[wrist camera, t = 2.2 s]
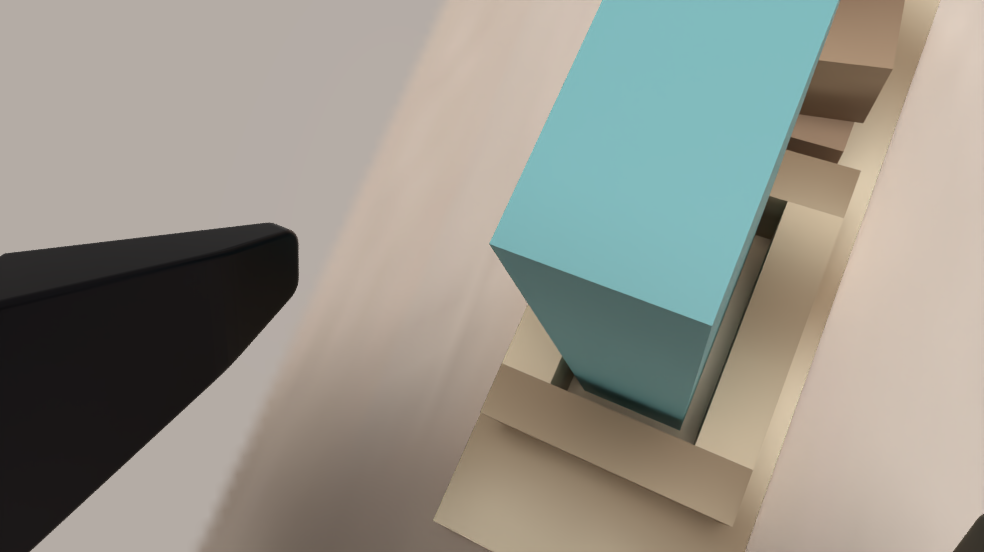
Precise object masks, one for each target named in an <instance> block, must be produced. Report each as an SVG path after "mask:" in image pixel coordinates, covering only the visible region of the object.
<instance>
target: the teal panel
mask: <svg viewBox="0 0 984 552" xmlns="http://www.w3.org/2000/svg"><path fill="white" fill-rule="evenodd" d="M839 3H840V0H602V2H601V5H600V7H599V9H598V11H597V13H596V15H595V17H594V20H593V22H592V24H591V26H590V28H589V30H588V33H587V35H586V37H585V39H584V41H583V43H582V45H581V48H580V50H579V52H578V54H577V56H576V58H575V61H574V63H573V65H572V67H571V69H570V71H569V73H568V76H567V78H566V80H565V82H564V84H563V86H562V89H561V91H560V93H559V95H558V97H557V99H556V101H555V104H554V106H553V108H552V110H551V112H550V114H549V117H548V119H547V121H546V123H545V125H544V127H543V129H542V132H541V134H540V136H539V138H538V140H537V142H536V145H535V147H534V149H533V151H532V153H531V155H530V157H529V160H528V162H527V164H526V166H525V168H524V170H523V173H522V175H521V177H520V179H519V181H518V183H517V185H516V188H515V190H514V192H513V194H512V196H511V198H510V201H509V203H508V205H507V207H506V209H505V211H504V213H503V216H502V218H501V220H500V222H499V224H498V226H497V229H496V231H495V233H494V235H493V237H492V239H491V241H490V246H491V247H492V249H493V250H494V252H495V253H496V255H497V256H498V258H499V260H500V261H501V263H502V264H503V266H504V267H505V269H506V270H507V272H508V273H509V275H510V277H511V278H512V280H513V281H514V283H515V284H516V286H517V287H518V289H519V290H520V292H521V293H522V295H523V297H524V298H525V300H526V301H527V303H528V304H529V306H530V307H531V309H532V310H533V312H534V314H535V315H536V317H537V318H538V320H539V321H540V323H541V324H542V326H543V327H544V329H545V330H546V332H547V334H548V335H549V337H550V338H551V340H552V341H553V343H554V344H555V346H556V347H557V349H558V351H559V352H560V354H561V355H562V357H563V358H564V360H565V361H566V363H567V364H568V366H569V367H570V369H571V371H572V372H573V374H574V375H575V377H576V378H577V380H578V381H579V383H580V384H581V386H582V387H583V389H584V391H587V392H589V393H592V394H594V395H596V396H599V397H601V398H603V399H606V400H608V401H611V402H613V403H615V404H618V405H620V406H622V407H625V408H627V409H630V410H632V411H634V412H637V413H639V414H641V415H644V416H646V417H649V418H651V419H653V420H656V421H658V422H660V423H663V424H665V425H668V426H670V427H672V428H675V429H677V430H679V431H680V429H681V426H682V424H683V421H684V419H685V416H686V413H687V411H688V408H689V406H690V403H691V401H692V398H693V395H694V393H695V390H696V388H697V385H698V382H699V380H700V377H701V375H702V372H703V369H704V367H705V364H706V362H707V359H708V356H709V354H710V351H711V349H712V346H713V343H714V341H715V338H716V336H717V333H718V331H719V328H720V325H721V323H722V320H723V318H724V315H725V312H726V310H727V307H728V305H729V302H730V299H731V297H732V294H733V292H734V289H735V286H736V284H737V281H738V279H739V276H740V273H741V271H742V268H743V266H744V263H745V260H746V258H747V255H748V253H749V250H750V247H751V245H752V242H753V239H754V236H755V234H756V231H757V228H758V225H759V223H760V220H761V217H762V214H763V212H764V209H765V206H766V203H767V201H768V198H769V195H770V192H771V190H772V187H773V184H774V181H775V179H776V176H777V173H778V170H779V168H780V165H781V162H782V159H783V157H784V154H785V151H786V148H787V146H788V143H789V140H790V137H791V135H792V132H793V129H794V126H795V124H796V121H797V118H798V115H799V113H800V110H801V107H802V104H803V102H804V99H805V96H806V93H807V91H808V88H809V85H810V82H811V80H812V77H813V74H814V71H815V69H816V66H817V63H818V60H819V58H820V55H821V52H822V49H823V47H824V44H825V41H826V38H827V36H828V33H829V30H830V27H831V25H832V22H833V19H834V16H835V14H836V11H837V8H838V5H839Z"/></svg>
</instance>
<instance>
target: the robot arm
mask: <svg viewBox="0 0 984 552" xmlns="http://www.w3.org/2000/svg"><path fill="white" fill-rule="evenodd" d="M298 263H299V258H298V238H297V236H296V234H295V233H294V232H293V231H292V230H289V229H287V228H284V227H282V226H279V225H277V224H274V223H260V224H252V225H243V226H236V227H227V228H218V229H209V230H201V231H192V232H184V233H175V234H167V235H159V236H150V237H142V238H133V239H125V240H117V241H107V242H99V243H91V244H82V245H73V246H65V247H57V248H48V249H39V250H31V251H22V252H14V253H5V254H3V255H2V256H0V552H30V551H31V550H32V549H33V548H34V547H35V546H36V545H38V544H39V543H40V542H41V541H42V540H43V539H44V538H45V537H46V536H47V535H48V534H49V533H51V532H52V530H54V529H55V528H56V527H57V526H58V525H59V524H60V523H61V522H62V521H64V520H65V519H66V518H67V517H68V516H69V515H70V514H71V513H72V512H73V511H74V510H75V509H77V508H78V507H79V506H80V505H81V504H82V503H83V502H84V501H85V500H86V499H87V498H88V497H89V496H91V495H92V494H93V493H94V492H95V491H96V490H97V489H98V488H99V487H100V486H101V485H102V484H104V483H105V482H106V481H107V480H108V479H109V478H110V477H111V476H112V475H113V474H114V473H116V472H117V471H118V469H120V468H121V467H122V466H123V465H124V464H125V463H126V462H127V461H129V460H130V459H131V458H132V457H133V456H134V455H135V454H136V453H137V452H138V451H139V450H140V449H142V448H143V447H144V446H145V445H146V444H147V443H148V442H149V441H150V440H151V439H152V438H153V437H155V436H156V435H157V434H158V433H159V432H160V431H161V430H162V429H163V428H164V427H165V426H166V425H168V423H170V422H171V421H172V420H173V419H174V418H175V417H176V416H177V415H178V414H179V413H181V412H182V411H183V410H184V409H185V408H186V407H187V406H188V405H189V404H190V403H191V402H192V401H193V400H195V399H196V398H197V397H198V396H199V395H200V394H201V393H202V392H203V391H204V390H205V389H207V388H208V387H209V386H210V385H211V384H212V383H213V382H214V381H215V380H216V379H217V378H218V377H219V376H220V375H222V374H223V373H224V372H225V371H226V370H227V368H229V366H231V365H232V363H233V362H234V361H235V360H236V359H237V358H238V357H239V356H240V355H241V354H242V353H243V351H244V350H245V349H246V348H247V347H248V345H250V344H251V342H252V341H253V340H254V339H255V338H256V337H257V336H258V334H259V333H260V332H261V331H262V330H263V329H264V328H265V327H266V325H267V324H268V323H269V322H270V321H271V320H272V318H273V317H274V316H275V315H276V314H277V313H278V312H279V311H280V310H281V308H282V307H283V306H284V305H285V304H286V302H287V301H288V300H289V299H290V298H291V297H292V296H293V294H294V292H295V291H296V288H297V285H298V280H299V279H298V278H299V266H298V265H299V264H298ZM953 552H984V514H983V515H981V516H980V517H979V518H978V519H977V520H976V522H975V523H974V524H973V526H972V527H971V528H970V530H969V531H968V532H967V534H966V535H965V536H964V538H963V539H962V540H961V542H960V543H959V544H958V546H957V547H956V548H955V550H954V551H953Z"/></svg>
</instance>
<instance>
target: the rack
mask: <svg viewBox="0 0 984 552" xmlns="http://www.w3.org/2000/svg"><path fill="white" fill-rule="evenodd" d="M939 3H940V0H905V3H904V9H903V14H902V20H901V26H900V31H899V37H898V43H897V48H896V54H895V60H894V65H893V70H892V71H891V73H890V75H889V77H888V79H887V81H886V83H885V84H884V86H883V88H882V90H881V92H880V94H879V95H878V97H877V99H876V101H875V103H874V105H873V107H872V108H871V110H870V112H869V114H868V116H867V118H866V119H865V121H864V123H857V122H854V125H853V128H852V130H851V133H850V136H849V139H848V141H847V144H846V147H845V149H844V152H843V154H842V156H841V158H840V159H839V161H838V163H837V164H836V163H832V162H828V161H825V160H821V159H818V158H814V157H811V156H807V155H804V154H800V153H796V152H793V151H789V150H786V151H785V154H784V157H783V159H782V162H781V165H780V168H779V170H778V173H777V176H776V179H775V181H774V184H773V187H772V190H771V192H770V195H769V198H768V201H767V203H766V206H765V209H764V212H763V214H762V217H761V220H760V223H759V225H758V228H757V231H756V234H755V236H754V239H753V242H752V245H751V247H750V250H749V253H748V255H747V258H746V260H745V263H744V266H743V268H742V271H741V273H740V276H739V279H738V281H737V284H736V286H735V289H734V292H733V294H732V297H731V299H730V302H729V305H728V307H727V310H726V312H725V315H724V318H723V320H722V323H721V325H720V328H719V331H718V333H717V336H716V338H715V341H714V343H713V346H712V349H711V351H710V354H709V356H708V359H707V362H706V364H705V367H704V369H703V372H702V375H701V377H700V380H699V382H698V385H697V388H696V390H695V393H694V395H693V398H692V401H691V403H690V406H689V408H688V411H687V413H686V416H685V419H684V421H683V424H682V426H681V429H680V431H679V430H677V429H675V428H672V427H670V426H668V425H665V424H663V423H660V422H658V421H656V420H653V419H651V418H649V417H646V416H644V415H641V414H639V413H637V412H634V411H632V410H630V409H627V408H625V407H622V406H620V405H618V404H615V403H613V402H611V401H608V400H606V399H603V398H601V397H599V396H596V395H594V394H592V393H589V392H587V391H584V389H583V387H582V386H581V384H580V383H579V381H578V380H577V378H576V377H575V375H574V374H573V372H572V371H571V369H570V367H569V366H568V364H567V363H566V361H565V360H564V358H563V357H562V355H561V354H560V352H559V351H558V349H557V347H556V346H555V344H554V343H553V341H552V340H551V338H550V337H549V335H548V334H547V332H546V330H545V329H544V327H543V326H542V324H541V323H540V321H539V320H538V318H537V317H536V315H535V314H534V312H533V310H532V309H531V307H530V306H529V304H528V306H527V308H526V310H525V312H524V315H523V317H522V319H521V321H520V324H519V326H518V328H517V330H516V333H515V335H514V337H513V339H512V342H511V344H510V346H509V348H508V351H507V353H506V355H505V357H504V360H503V362H502V364H501V366H500V369H499V371H498V373H497V375H496V378H495V380H494V382H493V384H492V387H491V389H490V391H489V393H488V396H487V398H486V400H485V402H484V405H483V407H482V409H481V411H480V412H481V413H480V416H479V418H478V420H477V422H476V425H475V427H474V429H473V431H472V434H471V436H470V438H469V440H468V443H467V445H466V447H465V449H464V452H463V454H462V456H461V458H460V461H459V463H458V465H457V467H456V470H455V472H454V474H453V476H452V479H451V481H450V483H449V485H448V488H447V490H446V492H445V494H444V497H443V499H442V501H441V503H440V506H439V508H438V510H437V512H436V515H435V517H434V519H433V521H434V522H436V523H438V524H440V525H442V526H444V527H446V528H448V529H450V530H452V531H454V532H456V533H457V534H459V535H461V536H463V537H465V538H467V539H469V540H471V541H473V542H475V543H477V544H479V545H481V546H482V547H484V548H486V549H488V550H490V551H492V552H745V549H746V546H747V544H748V541H749V538H750V535H751V532H752V530H753V527H754V524H755V521H756V518H757V515H758V513H759V510H760V507H761V504H762V501H763V499H764V496H765V493H766V490H767V487H768V484H769V482H770V479H771V476H772V473H773V470H774V468H775V465H776V462H777V459H778V456H779V453H780V451H781V448H782V445H783V442H784V439H785V437H786V434H787V431H788V428H789V425H790V423H791V420H792V417H793V414H794V411H795V408H796V406H797V403H798V400H799V397H800V394H801V392H802V389H803V386H804V383H805V380H806V377H807V375H808V372H809V369H810V366H811V363H812V361H813V358H814V355H815V352H816V349H817V346H818V344H819V341H820V338H821V335H822V332H823V330H824V327H825V324H826V321H827V318H828V315H829V313H830V310H831V307H832V304H833V301H834V299H835V296H836V293H837V290H838V287H839V284H840V282H841V279H842V276H843V273H844V270H845V268H846V265H847V262H848V259H849V256H850V253H851V251H852V248H853V245H854V242H855V239H856V237H857V234H858V231H859V228H860V225H861V223H862V220H863V217H864V214H865V211H866V208H867V206H868V203H869V200H870V197H871V194H872V192H873V189H874V186H875V183H876V180H877V177H878V175H879V172H880V169H881V166H882V163H883V161H884V158H885V155H886V152H887V149H888V146H889V144H890V141H891V138H892V135H893V132H894V130H895V127H896V124H897V121H898V118H899V115H900V113H901V110H902V107H903V104H904V101H905V99H906V96H907V93H908V90H909V87H910V84H911V82H912V79H913V76H914V73H915V70H916V68H917V65H918V62H919V59H920V56H921V53H922V51H923V48H924V45H925V42H926V39H927V37H928V34H929V31H930V28H931V25H932V23H933V20H934V17H935V14H936V11H937V8H938V6H939Z"/></svg>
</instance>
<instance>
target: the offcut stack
mask: <svg viewBox="0 0 984 552" xmlns="http://www.w3.org/2000/svg"><path fill="white" fill-rule="evenodd" d="M904 3H905V0H840V3H839V5H838V8H837V11H836V14H835V16H834V19H833V22H832V25H831V27H830V30H829V33H828V36H827V38H826V41H825V44H824V47H823V49H822V52H821V55H820V58H819V60H818V63H817V66H816V69H815V71H814V74H813V77H812V80H811V82H810V85H809V88H808V91H807V93H806V96H805V99H804V102H803V104H802V107H801V110H800V113H799V115H798V118H797V121H796V124H795V126H794V129H793V132H792V135H791V137H790V140H789V143H788V146H787V148H786V150H789V151H793V152H796V153H800V154H804V155H807V156H811V157H814V158H818V159H821V160H825V161H828V162H832V163H836V164H837V163H838V161H839V159H840V158H841V156H842V154H843V152H844V149H845V147H846V144H847V141H848V139H849V136H850V133H851V130H852V128H853V125H854V122H857V123H864V121H865V119H866V118H867V116H868V114H869V112H870V110H871V108H872V107H873V105H874V103H875V101H876V99H877V97H878V95H879V94H880V92H881V90H882V88H883V86H884V84H885V83H886V81H887V79H888V77H889V75H890V73H891V71H892V70H893V65H894V60H895V54H896V48H897V43H898V37H899V31H900V26H901V20H902V14H903V9H904Z"/></svg>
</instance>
